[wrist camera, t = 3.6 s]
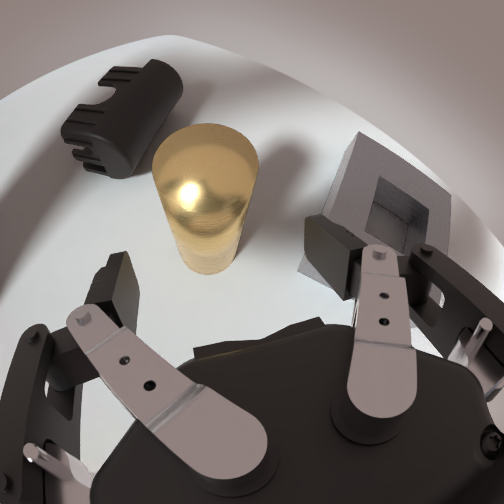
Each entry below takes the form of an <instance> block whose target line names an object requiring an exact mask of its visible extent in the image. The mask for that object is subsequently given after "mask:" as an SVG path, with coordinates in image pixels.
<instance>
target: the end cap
mask: <svg viewBox="0 0 504 504" xmlns="http://www.w3.org/2000/svg"><path fill="white" fill-rule="evenodd" d="M98 85H99V86H106V87H114V88H116V91H115V93H114V95H113V96H112V97H110V98H109V99H108V100H106V101H104V102H102V103H100V104H96V105H86V104H79V105H78V106H77V107H76V108H75V110H74V111H73V112H72V113H71V115H70V116H69V117H68V118H67V120H66V121H65V122H64V124H63V125H62V127H61V136H62V137H63V139H64V142H65V143H67V144H73V145H78V146H84V147H85V148H84V150H79V149H73V150H72V154H73V157H74V158H75V159H76V160H78V161H83V167H84V169H85V170H87V171H90V172H94V173H98V174H102V175H106V176H109V177H110V178H114V179H125V178H128V177H130V176H131V175H132V174H133V173H134V171H135V169H136V167H137V165H138V163H139V162H140V160H141V158H142V156H143V155H144V153H145V151H146V150H147V148H148V146H149V145H150V143H151V141H152V140H153V138H154V136H155V135H156V133H157V132H158V130H159V128H160V127H161V125H162V124H163V122H164V121H165V119H166V118H167V116H168V115H169V113H170V112H171V110H172V109H173V107H174V106H175V104H176V103H177V101H178V100H179V99H180V97H181V95H182V92H183V84H182V80H181V78H180V76H179V74H178V73H177V72H176V71H175V70H174V68H172V67H171V66H170V65H168V64H166V63H165V62H162V61H159V60H155V59H151V60H150V61H149V62H148V63H147V64H146V65H145V66H144V67H143V68H139V67H121V66H114V67H112V68H111V69H110V70H109V71H108V72H107V73H106V74H105V75H104V76H103V77H102V78H101V80H100V81H99V82H98Z"/></svg>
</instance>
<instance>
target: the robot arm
mask: <svg viewBox="0 0 504 504" xmlns="http://www.w3.org/2000/svg"><path fill="white" fill-rule="evenodd" d="M304 250H305V255H306V258H307V260H308V261H309V262H310V263H311V264H312V266H313V267H314V268H315V269H316V270H317V271H318V272H319V273H320V275H321V276H322V277H323V278H324V279H325V280H326V281H327V283H328V284H329V285H330V286H331V287H332V288H333V290H334V291H335V292H336V293H337V294H338V295H339V297H340V298H341V299H342V300H343V301H345V300H348V299H351V298H355V303H354V309H353V316H352V323H351V326H347V325H339V324H326V325H325V324H324V323H323V321H322V320H321V319H320V317H316V318H313V319H309V320H306V321H302V322H299V323H295V324H292V325H289V326H287V327H285V328H283V329H281V330H279V331H277V332H275V333H273V334H271V335H269V336H267V337H265V338H263V339H259V340H243V341H224V342H220V343H215V344H210V345H206V346H201V347H196V348H193V351H194V357H195V358H193V359H190V360H188V361H187V362H185V363H183V364H182V365H180V366H179V367H177V368H174V367H173V366H172V365H171V364H169V363H168V362H167V361H166V360H164V359H163V358H162V357H161V356H159V355H158V354H157V353H156V352H155V351H153V350H152V349H151V348H150V347H149V346H148V345H146V344H145V343H144V342H143V341H142V340H141V339H139V338H138V337H137V336H136V327H137V316H138V306H139V297H140V291H139V285H138V282H137V279H136V276H135V273H134V270H133V266H132V263H131V260H130V257H129V254H128V252H127V251H124V252H119V253H114V254H110V256H109V259H108V261H107V264H106V267H102V268H101V269H100V270H99V271H98V272H97V273H96V274H95V276H94V279H93V281H92V284H91V286H90V289H89V292H88V294H87V297H86V300H85V303H84V305H83V306H80V307H78V308H76V309H75V310H74V311H73V312H71V314H70V315H69V316H68V318H67V320H66V325H67V326H66V327H64V328H62V329H60V330H57V331H55V332H52V333H50V331H49V330H48V328H47V326H46V325H44V324H36V325H33V326H31V327H30V328H28V329H27V330H26V331H25V332H24V333H23V334H22V336H21V337H20V340H19V342H18V345H17V348H16V350H15V353H14V356H13V359H12V362H11V365H10V368H9V371H8V374H7V378H6V381H5V385H4V388H3V392H2V396H1V400H0V504H504V434H503V433H502V432H500V430H499V429H498V428H497V427H496V425H495V424H494V422H493V419H492V417H491V415H490V413H489V410H488V407H487V403H486V402H489V401H491V400H493V398H494V397H495V396H496V395H497V394H498V393H499V392H500V390H501V389H502V388H503V387H504V303H503V302H502V301H501V300H500V299H499V298H498V297H497V296H495V295H494V294H493V293H492V292H491V291H490V290H488V289H487V288H486V287H485V286H484V285H483V284H481V283H480V282H479V281H478V280H477V279H475V278H474V277H473V276H472V275H470V274H469V273H468V272H467V271H465V270H464V269H463V268H462V267H460V266H459V265H458V264H457V263H455V262H454V261H453V260H451V259H450V258H449V257H447V256H446V255H445V254H443V253H442V252H441V251H439V250H438V249H436V248H435V247H433V246H431V245H428V244H422V243H418V244H414V245H413V246H412V247H411V251H410V255H408V256H397V255H396V253H395V251H394V250H392V249H391V248H389V247H387V246H383V245H377V244H374V245H368V244H366V243H365V242H364V241H362V240H361V239H360V238H358V237H357V236H355V235H354V234H353V233H352V232H350V231H349V230H348V229H346V228H345V227H344V226H341V225H339V224H336V223H333V222H332V221H330V220H329V219H328V218H326V217H325V216H324V215H315V216H309V217H306V218H305V233H304ZM433 284H434V285H436V286H437V287H438V288H439V289H440V290H441V291H442V292H443V294H444V298H445V302H444V305H443V308H441V307H440V306H439V305H438V304H437V303H436V302H435V301H434V300H433V299H432V298H431V297H430V296H429V295H430V292H431V289H432V286H433ZM410 319H411V320H412V321H413V322H414V324H415V325H416V326H417V327H418V328H419V329H420V330H421V332H422V333H423V334H424V335H425V336H426V337H427V339H428V340H429V341H430V342H431V343H432V344H433V346H434V347H435V348H436V349H437V350H438V352H439V353H440V354H441V355H442V356H443V358H441V357H438V356H435V355H432V354H429V353H426V352H423V351H420V350H417V349H415V348H414V347H412V345H411V330H410ZM97 377H100V378H101V379H102V381H103V382H104V383H105V385H106V386H107V387H108V388H109V390H110V391H111V392H112V393H113V394H114V396H115V397H116V398H117V399H118V400H119V402H120V403H121V404H122V405H123V406H124V407H125V409H126V410H127V411H128V412H129V413H130V414H131V415H132V417H133V418H134V419H135V421H134V423H133V424H132V425H131V427H130V428H129V429H128V431H127V432H126V434H125V435H124V436H123V438H122V439H121V441H120V442H119V443H118V445H117V446H116V447H115V449H114V450H113V452H112V453H111V454H110V456H109V457H108V459H107V460H106V461H105V463H104V464H103V465H102V467H101V468H100V470H99V471H98V472H97V474H96V475H95V477H94V479H93V481H91V477H90V473H89V470H88V469H87V467H86V466H85V465H84V464H83V463H82V462H81V461H80V418H81V401H82V389H83V383H85V382H87V381H90V380H92V379H95V378H97ZM46 381H47V382H48V383H49V388H48V393H47V398H46V395H45V390H44V388H45V382H46Z"/></svg>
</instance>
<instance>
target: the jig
mask: <svg viewBox="0 0 504 504" xmlns="http://www.w3.org/2000/svg"><path fill="white" fill-rule="evenodd" d="M373 201H374V202H376V203H377V204H379V205H380V206H382V207H384V208H385V209H387V210H388V211H390V212H392V213H393V214H395V215H396V216H398V217H399V218H401V219H402V220H404V221H405V222H407V223H408V230H407V235H406V240H405V245H404V250H403V254H402V253H400V252H398V251H397V250H395V249H394V248H392V247H390V246H389V245H387V244H385V243H384V242H382V241H380V240H379V239H377V238H375V237H374V236H372V235H370V234H369V233H367V232H365V227H366V224H367V220H368V217H369V213H370V210H371V206H372V202H373ZM321 215H324V216H325V217H326V218H328V219H329V220H330V221H332V222H333V223H336V224H339V225H341V226H344V227H345V228H346V229H348V230H349V231H350V232H352V233H353V234H354V235H355V236H357V237H358V238H360V239H361V240H362V241H364V242H365V243H366V244H368V245H374V244H377V245H383V246H387V247H389V248H391V249H392V250H394V251H395V253H396V255H397V256H408V255H410V251H411V247H412V246H413V245H414V244H418V243H422V244H428V245H431V246H433V247H435V248H436V249H438V250H439V251H441V252H442V253H443V254H445V255H446V256H447V252H448V243H449V232H450V216H451V195H450V194H449V193H448V192H447V191H446V190H444V189H443V188H442V187H441V186H439V185H438V184H437V183H435V182H434V181H433V180H432V179H430V178H429V177H428V176H426V175H425V174H423V173H422V172H421V171H419V170H418V169H417V168H415V167H414V166H412V165H411V164H410V163H408V162H407V161H405V160H404V159H402V158H401V157H399V156H398V155H396V154H395V153H393V152H392V151H390V150H389V149H387V148H385V147H384V146H382V145H381V144H379V143H377V142H376V141H374V140H373V139H371V138H369V137H368V136H366V135H364V134H362V133H361V132H358V133H357V135H356V136H355V138H354V139H353V141H352V142H351V144H350V145H349V147H348V148H347V149H346V151H345V153H344V155H343V158H342V161H341V164H340V166H339V169H338V172H337V174H336V177H335V179H334V182H333V185H332V187H331V190H330V192H329V195H328V198H327V200H326V203H325V205H324V208H323V210H322V213H321ZM297 271H298V272H300V273H302V274H304V275H306V276H308V277H310V278H312V279H314V280H316V281H318V282H320V283H322V284H324V285H326V286H328V287H329V288H331V289H333V288H332V287H331V286H330V285H329V284H328V283H327V281H326V280H325V279H324V278H323V277H322V276H321V275H320V273H319V272H318V271H317V270H316V269H315V268H314V267H313V266H312V264H311V263H310V262H309V261H308V260H307V258H306V255H305V254H304V256H303V258H302V261H301V263H300V265H299V268H298V270H297ZM441 292H442V291H441V290H440V289H439V288H438V287H437V286H436V285H434V284H433V286H432V289H431V292H430V295H429V296H430V297H431V298H432V299H433V300H434V301H435V302H436V303H437V304H438V305H439V302H440V297H441ZM351 299H353V300H355V298H351ZM415 327H417V326H416V325H415V324H414V322H413V321H412V320H411V319H410V328H415Z"/></svg>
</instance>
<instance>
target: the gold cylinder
mask: <svg viewBox="0 0 504 504" xmlns="http://www.w3.org/2000/svg"><path fill="white" fill-rule="evenodd" d="M258 168H259V161H258V156H257V153H256V151H255V149H254V147H253V145H252V144H251V142H250V141H249V140H248V139H247V138H246V137H245V136H243V135H242V134H241V133H239V132H238V131H236V130H234V129H232V128H229V127H227V126H223V125H219V124H209V123H205V124H196V125H191V126H187V127H185V128H182V129H180V130H178V131H176V132H174V133H173V134H171V135H170V136H169V137H167V138H166V139H165V140H164V141H163V142H162V143H161V145H160V146H159V148H158V149H157V151H156V153H155V155H154V158H153V163H152V174H153V178H154V181H155V185H156V188H157V191H158V194H159V197H160V200H161V202H162V205H163V208H164V211H165V214H166V217H167V220H168V222H169V225H170V228H171V231H172V234H173V236H174V239H175V242H176V244H177V247H178V250H179V252H180V255H181V257H182V260H183V261H184V263H185V264H186V265H187V266H188V267H189V268H190V269H191V270H193V271H194V272H197V273H199V274H204V275H211V274H216V273H219V272H221V271H223V270H225V269H226V268H227V267H228V266H229V265H230V264H231V263H232V261H233V259H234V257H235V254H236V251H237V247H238V243H239V239H240V236H241V232H242V228H243V225H244V221H245V217H246V214H247V210H248V206H249V203H250V199H251V195H252V192H253V188H254V185H255V181H256V177H257V174H258Z"/></svg>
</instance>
